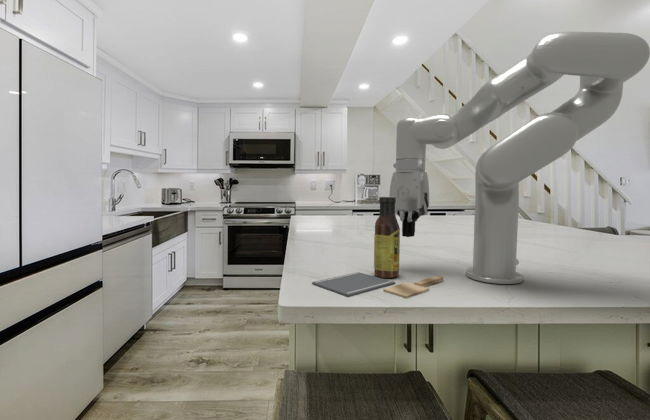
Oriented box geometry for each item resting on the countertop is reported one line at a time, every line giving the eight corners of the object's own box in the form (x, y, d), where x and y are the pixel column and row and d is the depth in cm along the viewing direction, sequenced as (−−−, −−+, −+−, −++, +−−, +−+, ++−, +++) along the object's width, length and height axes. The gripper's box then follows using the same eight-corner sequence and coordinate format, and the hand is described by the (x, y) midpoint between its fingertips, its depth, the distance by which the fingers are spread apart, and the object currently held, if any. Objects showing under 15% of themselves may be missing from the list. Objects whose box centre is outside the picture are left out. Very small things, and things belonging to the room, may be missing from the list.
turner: (429, 277, 85) (429, 273, 85) (451, 283, 80) (451, 278, 80) (383, 291, 74) (383, 287, 74) (406, 299, 70) (406, 294, 70)
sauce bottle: (399, 279, 83) (400, 197, 82) (373, 278, 84) (374, 197, 83) (399, 273, 90) (400, 196, 88) (374, 272, 91) (375, 196, 89)
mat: (358, 273, 89) (358, 271, 89) (395, 283, 80) (395, 281, 80) (311, 283, 79) (312, 281, 79) (348, 296, 70) (348, 294, 70)
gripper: (379, 167, 94) (377, 234, 96) (426, 165, 83) (423, 241, 84) (396, 168, 99) (395, 232, 100) (443, 166, 87) (441, 238, 89)
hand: (408, 236), depth 92 cm, fingers closed
